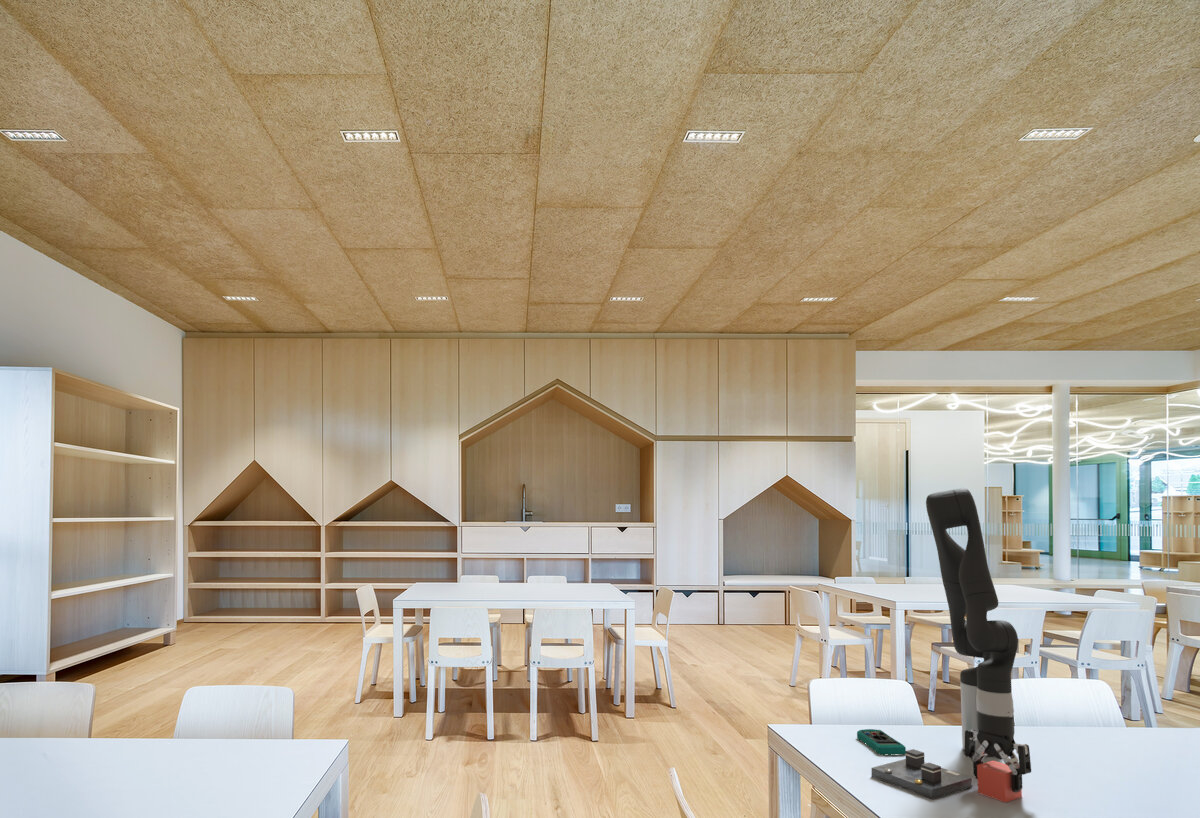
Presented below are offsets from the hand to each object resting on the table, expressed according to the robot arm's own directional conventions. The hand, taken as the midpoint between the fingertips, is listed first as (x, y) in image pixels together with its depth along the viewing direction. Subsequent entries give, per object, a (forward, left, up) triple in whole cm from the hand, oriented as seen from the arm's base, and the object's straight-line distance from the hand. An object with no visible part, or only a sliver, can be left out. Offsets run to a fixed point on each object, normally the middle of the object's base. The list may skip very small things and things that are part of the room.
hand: (997, 785), depth 173 cm
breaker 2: (+10, -10, 0) cm, 14 cm away
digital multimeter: (-6, -36, -3) cm, 36 cm away
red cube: (0, 0, -2) cm, 2 cm away
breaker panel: (+8, -14, -2) cm, 16 cm away
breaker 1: (+5, -18, 0) cm, 18 cm away
